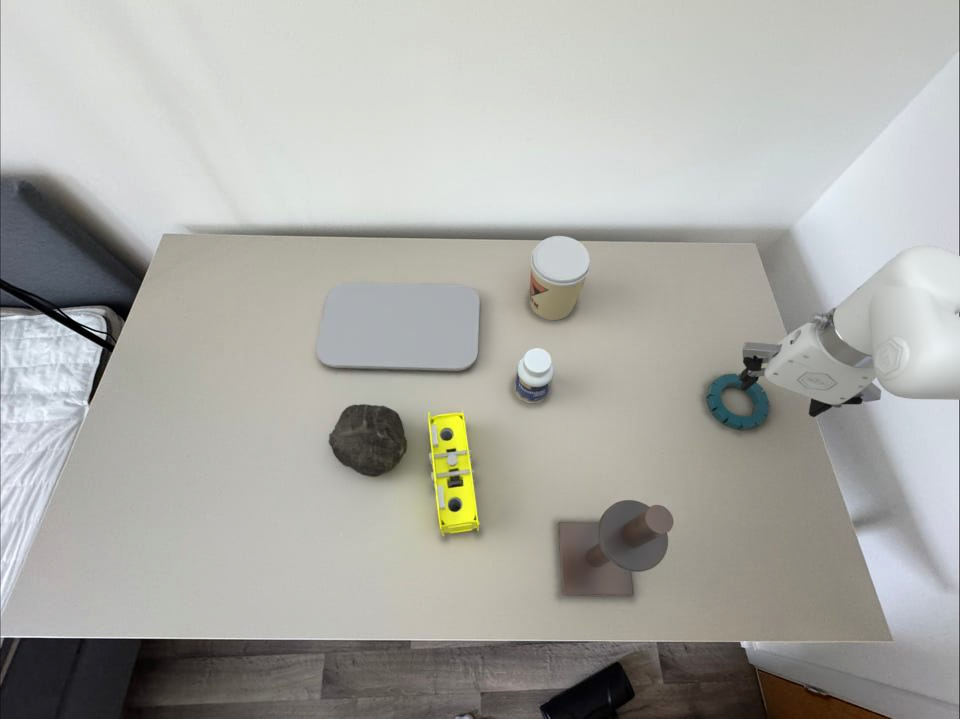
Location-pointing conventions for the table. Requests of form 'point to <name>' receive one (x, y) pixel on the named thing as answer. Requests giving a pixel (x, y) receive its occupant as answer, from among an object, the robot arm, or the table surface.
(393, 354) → the tablet
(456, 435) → the yellow toy chassis
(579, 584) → the stand
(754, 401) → the ring
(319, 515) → the table surface
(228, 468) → the table surface
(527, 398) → the pill bottle
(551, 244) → the beige lidded canister
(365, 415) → the rock
